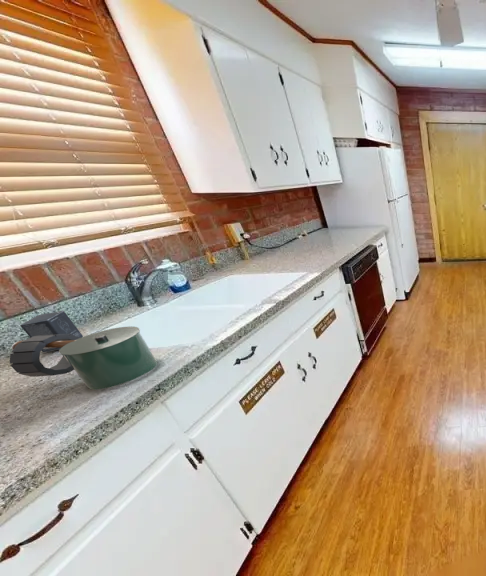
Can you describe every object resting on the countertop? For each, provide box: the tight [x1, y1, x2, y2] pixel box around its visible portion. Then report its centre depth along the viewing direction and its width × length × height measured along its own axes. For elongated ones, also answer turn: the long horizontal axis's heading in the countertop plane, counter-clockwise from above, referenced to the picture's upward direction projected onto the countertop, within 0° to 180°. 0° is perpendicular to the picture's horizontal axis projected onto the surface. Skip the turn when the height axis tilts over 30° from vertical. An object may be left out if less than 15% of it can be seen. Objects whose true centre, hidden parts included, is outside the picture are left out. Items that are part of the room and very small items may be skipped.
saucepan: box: [11, 326, 158, 391], centre depth 82 cm, size 27×14×13 cm, turn 97°
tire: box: [9, 334, 80, 378], centre depth 80 cm, size 11×5×11 cm, turn 7°
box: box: [19, 310, 84, 353], centre depth 96 cm, size 8×6×11 cm
